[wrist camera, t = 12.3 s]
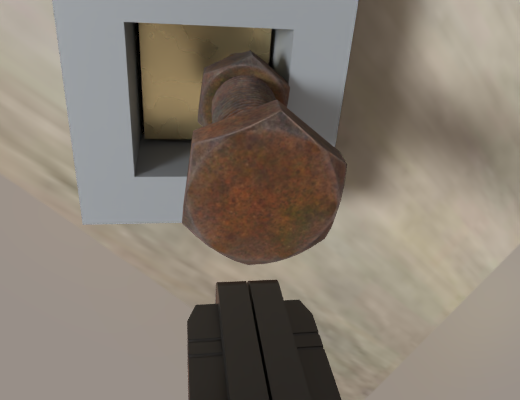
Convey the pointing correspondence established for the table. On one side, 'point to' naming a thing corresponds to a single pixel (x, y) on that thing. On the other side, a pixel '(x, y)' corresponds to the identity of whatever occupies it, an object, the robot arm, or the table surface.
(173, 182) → the socket block
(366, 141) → the table surface
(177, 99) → the beige square tile
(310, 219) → the bolt
